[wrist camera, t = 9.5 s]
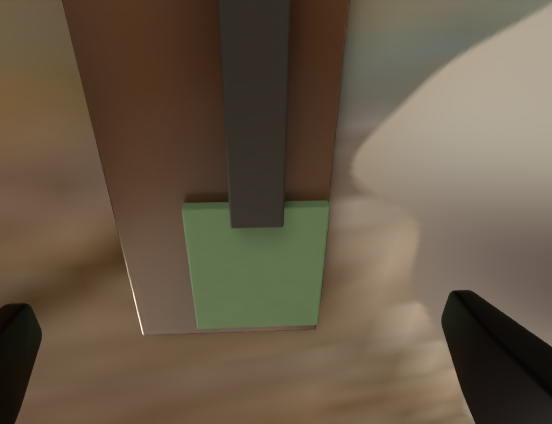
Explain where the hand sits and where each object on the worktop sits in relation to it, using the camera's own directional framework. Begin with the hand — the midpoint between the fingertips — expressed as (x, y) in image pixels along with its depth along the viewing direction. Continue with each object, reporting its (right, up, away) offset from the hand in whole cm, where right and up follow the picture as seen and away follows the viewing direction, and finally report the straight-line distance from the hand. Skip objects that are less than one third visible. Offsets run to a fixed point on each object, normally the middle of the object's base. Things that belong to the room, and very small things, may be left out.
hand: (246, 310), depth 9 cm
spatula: (0, +3, +8) cm, 8 cm away
